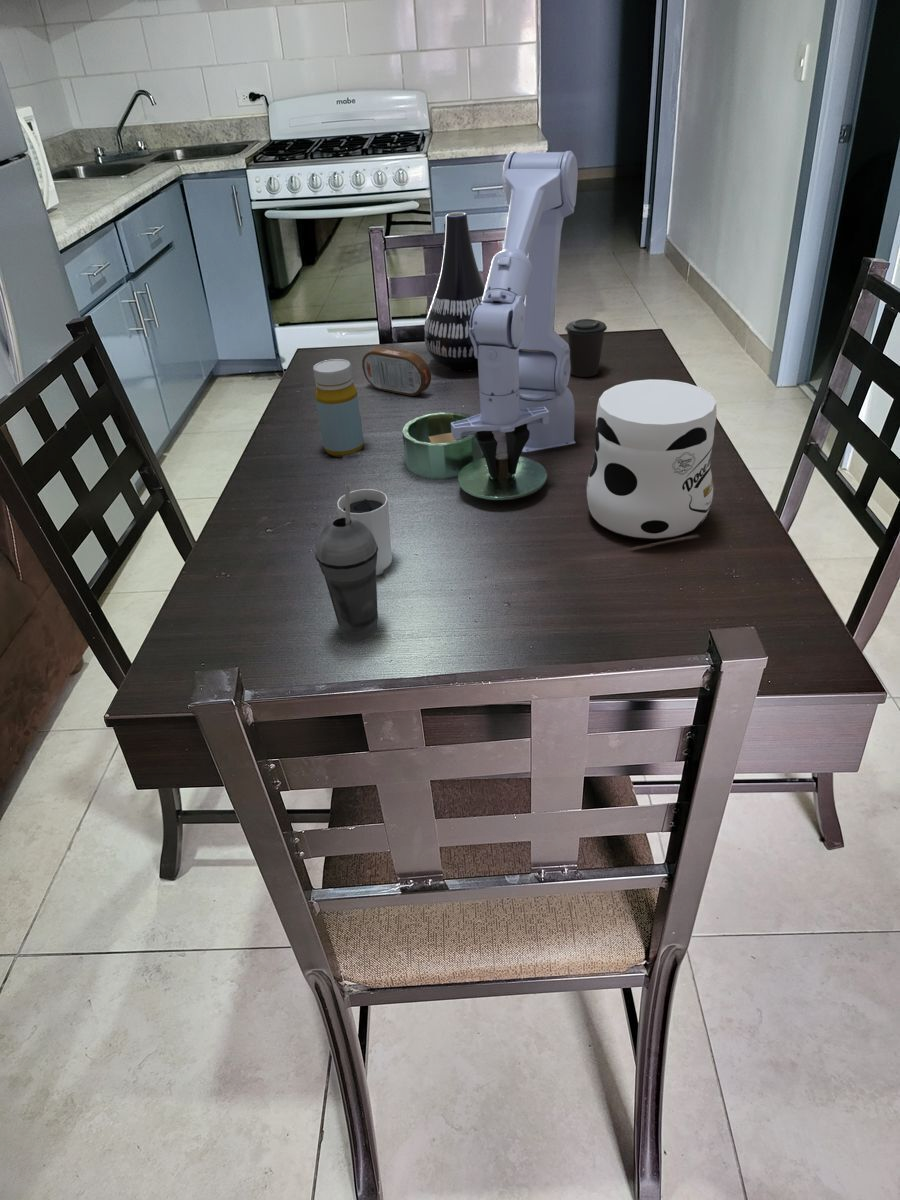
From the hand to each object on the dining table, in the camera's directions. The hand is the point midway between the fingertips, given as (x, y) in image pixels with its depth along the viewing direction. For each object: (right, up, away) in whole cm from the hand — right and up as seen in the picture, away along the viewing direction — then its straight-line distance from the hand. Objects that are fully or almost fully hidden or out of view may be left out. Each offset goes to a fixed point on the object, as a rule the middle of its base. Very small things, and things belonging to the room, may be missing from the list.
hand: (501, 473), depth 127 cm
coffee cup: (+19, +26, +39) cm, 51 cm away
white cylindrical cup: (-19, -15, -12) cm, 27 cm away
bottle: (-26, +7, +18) cm, 33 cm away
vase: (-5, +29, +47) cm, 56 cm away
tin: (-18, +22, +38) cm, 48 cm away
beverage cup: (-19, -23, -24) cm, 38 cm away
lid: (0, -1, 0) cm, 1 cm away
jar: (-9, +3, +11) cm, 15 cm away
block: (-9, +4, +11) cm, 15 cm away
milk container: (+20, -8, -7) cm, 23 cm away
